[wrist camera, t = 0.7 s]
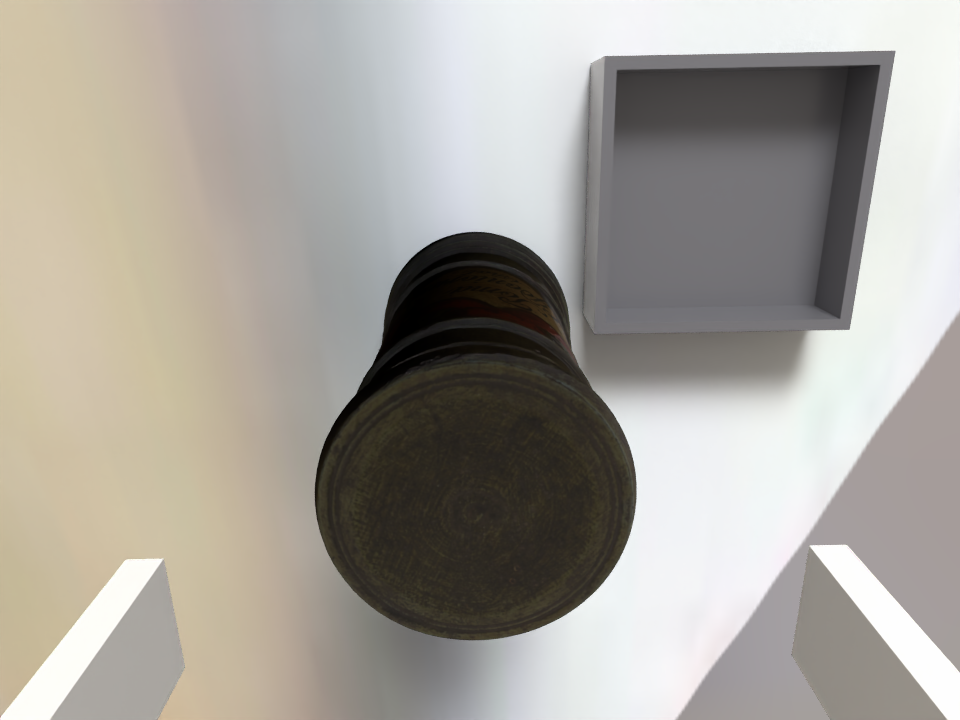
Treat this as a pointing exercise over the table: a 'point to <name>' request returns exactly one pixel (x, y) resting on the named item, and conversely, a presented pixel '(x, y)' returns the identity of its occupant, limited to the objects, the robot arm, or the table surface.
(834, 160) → the tray
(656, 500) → the table surface
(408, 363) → the container
